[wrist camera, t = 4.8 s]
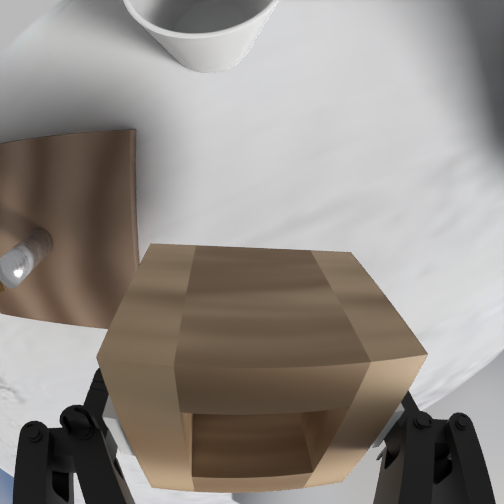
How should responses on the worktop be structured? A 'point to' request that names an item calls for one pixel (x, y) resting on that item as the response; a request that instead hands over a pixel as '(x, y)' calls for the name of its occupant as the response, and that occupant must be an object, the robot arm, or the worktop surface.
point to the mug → (203, 29)
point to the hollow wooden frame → (254, 366)
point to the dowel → (1, 288)
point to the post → (25, 257)
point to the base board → (71, 224)
